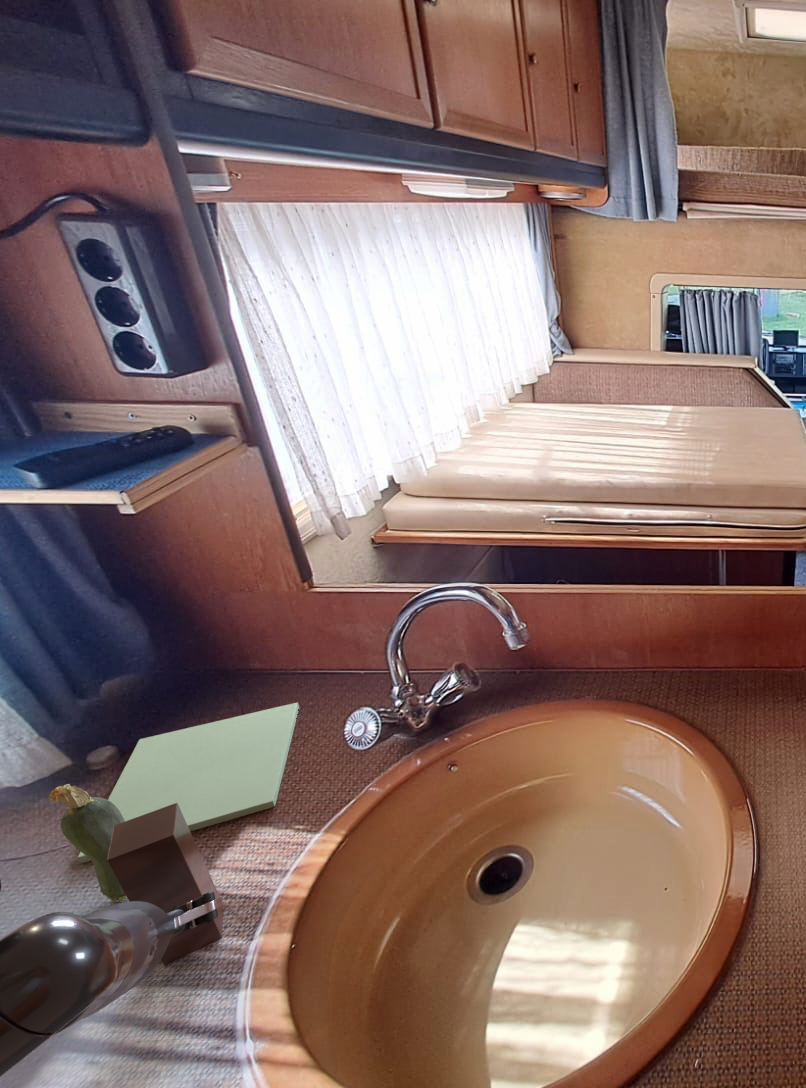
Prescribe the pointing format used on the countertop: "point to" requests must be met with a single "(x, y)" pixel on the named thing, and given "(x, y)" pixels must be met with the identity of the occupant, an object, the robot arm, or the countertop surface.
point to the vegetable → (91, 832)
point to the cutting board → (209, 769)
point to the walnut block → (164, 872)
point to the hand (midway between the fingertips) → (157, 927)
